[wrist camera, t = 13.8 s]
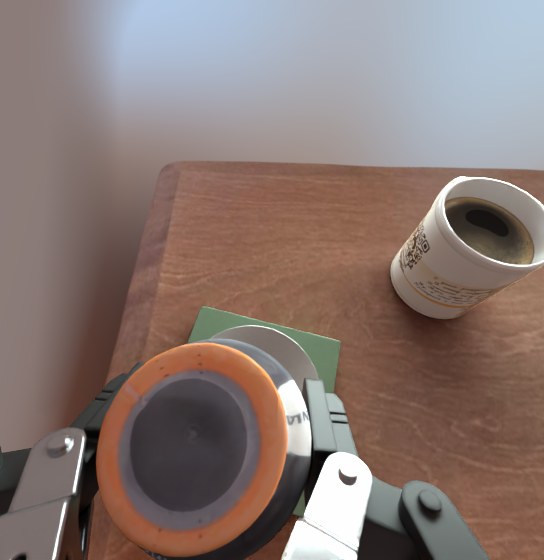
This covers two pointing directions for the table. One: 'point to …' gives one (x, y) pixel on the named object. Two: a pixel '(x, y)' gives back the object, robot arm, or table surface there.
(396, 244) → the table surface
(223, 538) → the pill bottle
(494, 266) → the mug
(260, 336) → the scale
